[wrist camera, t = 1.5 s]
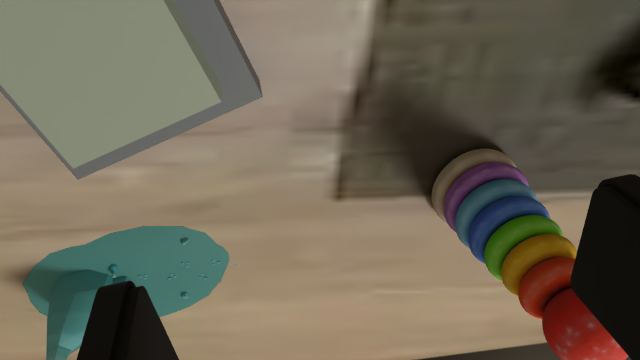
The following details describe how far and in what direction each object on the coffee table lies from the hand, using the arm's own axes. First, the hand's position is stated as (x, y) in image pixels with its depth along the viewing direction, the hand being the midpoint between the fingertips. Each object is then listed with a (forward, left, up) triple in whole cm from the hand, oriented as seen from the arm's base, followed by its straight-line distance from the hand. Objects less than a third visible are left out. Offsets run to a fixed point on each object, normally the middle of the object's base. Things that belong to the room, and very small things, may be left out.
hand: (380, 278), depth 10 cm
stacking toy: (-10, +22, -26) cm, 35 cm away
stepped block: (+10, -2, -26) cm, 28 cm away
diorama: (+21, +17, -26) cm, 38 cm away
